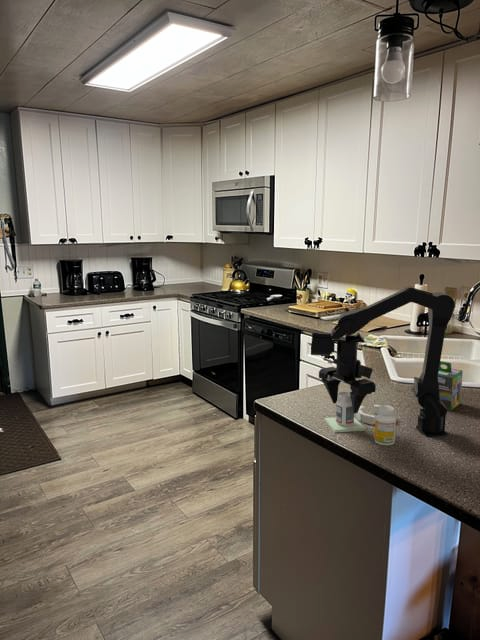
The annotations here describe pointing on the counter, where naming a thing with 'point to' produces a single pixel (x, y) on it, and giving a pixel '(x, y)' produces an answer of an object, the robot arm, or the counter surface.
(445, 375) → the chalk box
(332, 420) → the pad
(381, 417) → the supplement bottle
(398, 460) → the counter surface
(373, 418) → the locking ring
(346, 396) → the pill bottle
